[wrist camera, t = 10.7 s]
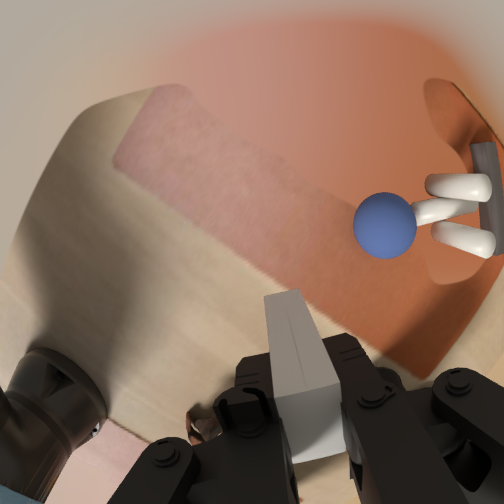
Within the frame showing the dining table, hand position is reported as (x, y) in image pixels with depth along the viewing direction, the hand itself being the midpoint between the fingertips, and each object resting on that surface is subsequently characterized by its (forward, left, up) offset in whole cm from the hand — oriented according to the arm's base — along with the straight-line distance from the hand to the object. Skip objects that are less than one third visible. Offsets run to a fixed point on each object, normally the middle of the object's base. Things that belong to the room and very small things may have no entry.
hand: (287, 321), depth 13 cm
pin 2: (+19, -2, -16) cm, 25 cm away
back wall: (+27, 0, -16) cm, 32 cm away
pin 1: (+19, +2, -16) cm, 25 cm away
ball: (+11, 0, -13) cm, 17 cm away
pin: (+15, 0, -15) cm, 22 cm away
